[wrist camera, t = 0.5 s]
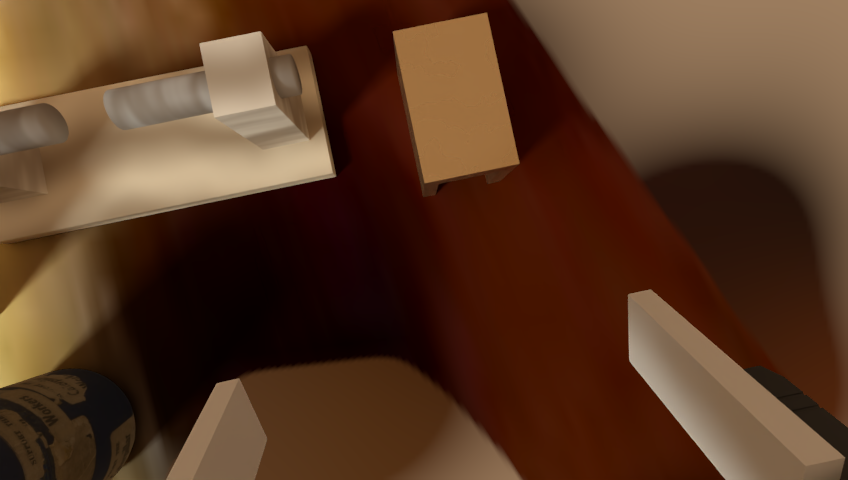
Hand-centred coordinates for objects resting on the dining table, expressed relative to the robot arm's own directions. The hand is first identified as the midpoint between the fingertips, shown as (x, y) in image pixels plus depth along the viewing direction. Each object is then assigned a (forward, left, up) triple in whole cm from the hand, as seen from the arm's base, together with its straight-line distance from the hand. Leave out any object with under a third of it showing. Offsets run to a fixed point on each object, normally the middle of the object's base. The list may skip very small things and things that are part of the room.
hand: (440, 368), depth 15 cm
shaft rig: (+16, +18, -20) cm, 31 cm away
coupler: (+13, -4, -20) cm, 24 cm away
